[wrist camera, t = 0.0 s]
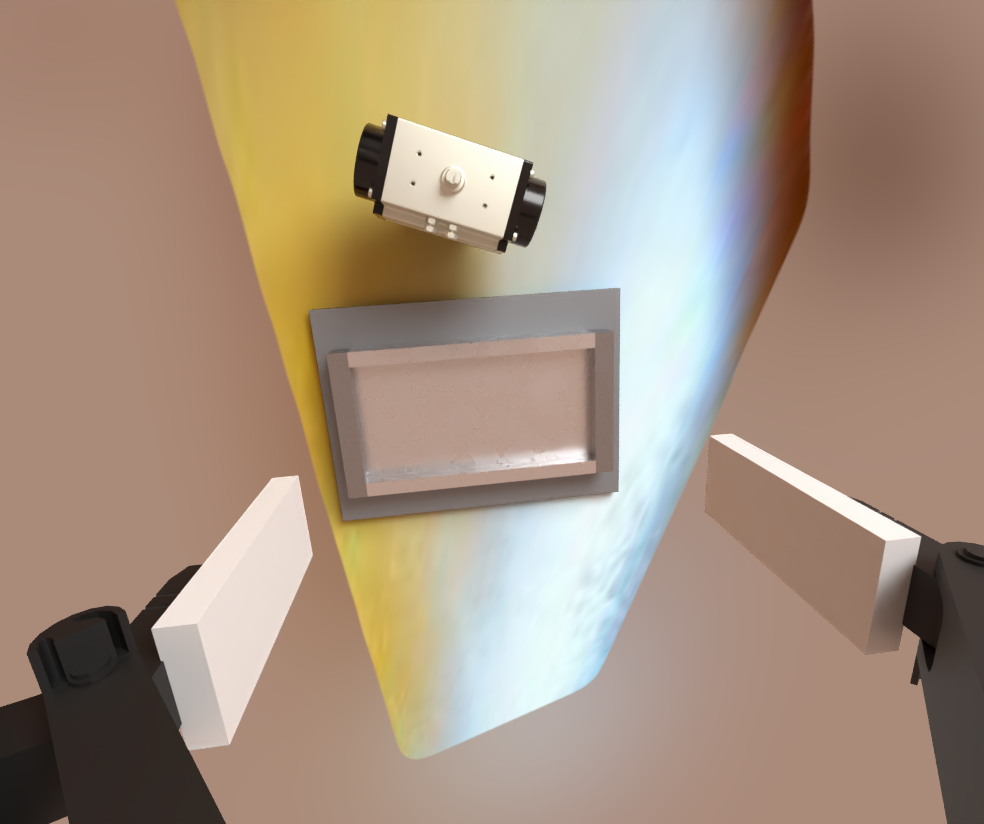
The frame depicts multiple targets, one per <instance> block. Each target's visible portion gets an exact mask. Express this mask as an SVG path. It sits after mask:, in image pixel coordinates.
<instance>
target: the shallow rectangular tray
mask: <svg viewBox="0 0 984 824" xmlns="http://www.w3.org/2000/svg"><path fill="white" fill-rule="evenodd" d="M326 357H327V363H328V369H329V376H330V382H331V389H332V395H333V401H334V408H335V414H336V420H337V427H338V433H339V439H340V446H341V452H342V459H343V465H344V471H345V478H346V484H347V490H348V497H349V499H350V498H359V497H369V496H379V495H388V494H398V493H408V492H417V491H427V490H437V489H446V488H456V487H466V486H476V485H485V484H495V483H505V482H514V481H524V480H534V479H543V478H553V477H563V476H573V475H582V474H592V473H602V472H611V471H613V441H614V332H613V331H610V330H607V329H591V330H578V331H565V332H552V333H539V334H526V335H514V336H501V337H488V338H475V339H462V340H449V341H436V342H423V343H410V344H397V345H384V346H371V347H358V348H346V349H333V350H331V351H330V352H328V353H327V354H326Z"/></svg>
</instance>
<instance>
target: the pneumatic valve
mask: <svg viewBox="0 0 984 824" xmlns="http://www.w3.org/2000/svg"><path fill="white" fill-rule="evenodd" d="M532 166H533V162H530V161H527V160H524V159H521V158H518V157H515V156H512V155H509V154H506V153H503V152H500V151H497V150H494V149H491V148H488V147H485V146H482V145H479V144H476V143H473V142H470V141H467V140H464V139H461V138H458V137H455V136H452V135H449V134H446V133H443V132H440V131H438V130H435V129H432V128H429V127H426V126H423V125H420V124H417V123H414V122H411V121H408V120H405V119H402V118H399V117H396V116H393V115H390V114H388V116H387V121H385V120H383V123H382V127H380V126H377V125H374V124H371V123H367V124H366V125H365V127H364V129H363V132H362V135H361V138H360V142H359V146H358V150H357V155H356V162H355V169H354V193H355V195H356V196H357V197H360V198H364V199H367V200H370V201H373V202H375V205H374V209H373V214H375V215H376V216H377V217H378V218H380V219H383V220H387V221H390V222H393V223H397V224H400V225H403V226H407V227H410V228H413V229H417V230H420V231H423V232H427V233H430V234H433V235H437V236H440V237H444V238H447V239H450V240H454V241H457V242H460V243H464V244H467V245H470V246H474V247H477V248H480V249H484V250H487V251H490V252H494V253H497V254H502V253H505V251H506V248H507V244H508V243H512V244H515V245H518V246H521V247H527V246H528V245H529V243H530V241H531V239H532V237H533V235H534V232H535V230H536V227H537V224H538V221H539V218H540V215H541V211H542V208H543V204H544V199H545V194H546V182H545V181H543V180H540V179H537V178H534V177H533V176H534V172H535V171H534V170H532Z"/></svg>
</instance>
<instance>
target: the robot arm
mask: <svg viewBox="0 0 984 824" xmlns="http://www.w3.org/2000/svg"><path fill="white" fill-rule="evenodd" d="M707 467H708V468H707V483H706V497H705V513H706V514H708V515H709V516H710V517H711V518H712V519H713V520H714V521H715V522H717V523H718V524H719V525H720V526H721V527H722V528H723V529H724V530H726V531H727V532H728V533H729V534H730V535H731V536H732V537H733V538H735V539H736V540H737V541H738V542H739V543H741V545H742V546H744V547H745V548H746V549H747V550H748V551H749V552H750V553H751V554H753V555H754V556H755V557H756V558H757V559H758V560H759V561H760V562H762V563H763V564H764V565H765V566H766V567H767V568H768V569H770V571H772V572H773V573H774V574H775V575H776V576H777V577H779V578H780V579H781V580H782V581H783V582H784V583H785V584H786V585H787V586H789V587H790V588H791V589H792V590H793V591H794V592H795V593H796V594H798V595H799V596H800V597H801V598H802V599H803V600H804V601H805V602H807V603H808V604H809V605H810V606H811V607H812V608H813V609H814V610H815V611H817V612H818V613H819V614H820V615H821V616H822V617H823V618H825V619H826V620H827V621H828V622H829V623H830V624H831V625H832V626H833V627H835V628H836V629H837V630H838V631H839V632H840V633H841V634H842V635H844V636H845V637H846V638H847V639H848V640H849V641H850V642H851V643H853V644H854V645H855V646H856V647H857V648H858V649H859V650H860V651H862V652H863V653H864V654H865V655H869V654H876V653H883V652H890V651H897V650H899V645H900V640H901V635H902V630H903V625H904V626H905V627H907V628H908V629H909V630H911V631H912V632H913V633H915V634H916V635H917V636H919V637H920V640H919V645H918V650H917V654H916V659H915V664H914V668H913V673H912V678H911V684H914V685H917V684H918V681H919V679H921V680H922V686H923V691H924V697H925V703H926V708H927V714H928V719H929V725H930V730H931V736H932V742H933V747H934V753H935V758H936V764H937V769H938V774H939V780H940V786H941V791H942V797H943V802H944V808H945V814H946V819H947V824H984V546H983V545H979V544H974V543H966V542H947V543H945V544H941V543H939V542H937V541H935V540H934V539H931V538H930V537H928V536H926V535H924V534H922V533H920V532H919V531H916V530H915V529H913V528H911V527H909V526H907V525H906V524H904V523H902V522H900V521H895V520H894V518H892V517H891V516H889V515H887V514H885V513H882V512H881V513H880V512H879V510H877V509H876V508H874V507H872V506H870V505H868V504H866V503H864V502H862V501H860V500H857V499H854V498H851V497H848V496H845V495H844V494H842V493H840V492H838V491H836V490H834V489H833V488H831V487H829V486H827V485H825V484H823V483H822V482H820V481H818V480H816V479H814V478H812V477H811V476H809V475H807V474H805V473H803V472H801V471H799V470H798V469H796V468H794V467H792V466H790V465H788V464H787V463H784V462H783V461H781V460H779V459H777V458H776V457H774V456H772V455H770V454H768V453H766V452H764V451H763V450H761V449H759V448H757V447H755V446H753V445H752V444H750V443H748V442H746V441H744V440H742V439H741V438H739V437H737V436H735V435H733V434H723V435H714V436H709V450H708V466H707ZM312 556H313V554H312V548H311V543H310V537H309V532H308V526H307V521H306V515H305V511H304V505H303V500H302V494H301V488H300V483H299V478H298V476H289V477H279V478H272V479H271V480H270V482H269V483H268V484H267V485H266V486H265V488H264V489H263V490H262V491H261V493H260V494H259V495H258V496H257V498H256V499H255V500H254V502H253V503H252V504H251V505H250V507H249V508H248V509H247V510H246V511H245V513H244V514H243V515H242V516H241V518H240V519H239V520H238V521H237V523H236V524H235V525H234V526H233V528H232V529H231V530H230V531H229V533H228V534H227V535H226V536H225V538H224V539H223V540H222V541H221V543H220V544H219V545H218V546H217V548H216V549H215V550H214V551H213V553H212V554H211V555H210V556H209V557H208V559H207V560H206V561H205V562H204V564H202V565H193V566H188V567H187V568H186V569H184V570H183V571H181V572H180V573H178V574H177V575H175V576H174V577H172V578H171V579H170V580H168V582H167V583H166V584H165V585H164V586H163V588H162V589H161V590H160V591H159V592H158V593H157V594H156V597H154V598H153V599H152V600H151V601H150V602H149V603H148V605H147V606H146V609H145V610H142V611H141V613H140V614H139V615H138V616H137V617H136V618H135V619H134V621H133V622H132V623H131V624H129V620H128V618H127V614H126V612H125V610H123V609H122V608H120V607H116V606H104V607H99V608H92V609H88V610H86V611H83V612H80V613H77V614H74V615H71V616H69V617H68V618H65V619H63V620H61V621H59V622H57V623H55V624H54V625H52V626H51V627H49V628H48V629H46V630H45V631H43V632H42V633H40V634H39V635H38V636H37V637H36V638H35V640H33V642H32V643H31V644H30V645H29V648H28V651H27V656H28V658H29V661H30V663H31V666H32V669H33V671H34V674H35V676H36V679H37V681H38V684H39V687H40V689H41V692H42V694H40V695H37V696H34V697H31V698H28V699H25V700H22V701H18V702H15V703H12V704H9V705H6V706H3V707H0V824H49V823H52V822H54V821H57V820H59V819H61V818H64V817H66V816H68V820H69V824H226V823H225V821H224V819H223V817H222V815H221V813H220V811H219V809H218V807H217V805H216V803H215V801H214V799H213V797H212V795H211V793H210V791H209V789H208V788H207V785H206V783H205V782H204V780H203V778H202V776H201V774H200V772H199V770H198V768H197V766H196V764H195V762H194V760H193V758H192V756H191V754H190V752H189V750H195V749H203V748H209V747H216V746H224V745H229V744H230V742H231V740H232V738H233V735H234V733H235V731H236V728H237V726H238V724H239V722H240V720H241V717H242V715H243V713H244V710H245V708H246V706H247V704H248V701H249V699H250V697H251V695H252V692H253V690H254V688H255V685H256V683H257V681H258V679H259V676H260V674H261V672H262V670H263V667H264V665H265V663H266V660H267V658H268V656H269V653H270V651H271V649H272V647H273V645H274V642H275V640H276V638H277V635H278V633H279V631H280V629H281V626H282V624H283V622H284V619H285V617H286V615H287V613H288V610H289V608H290V606H291V604H292V601H293V599H294V597H295V594H296V592H297V590H298V588H299V585H300V583H301V581H302V578H303V576H304V574H305V572H306V569H307V567H308V565H309V563H310V560H311V558H312ZM180 727H181V730H182V734H183V737H184V740H185V742H184V740H183V738H182V736H181V735H180V732H179V728H180Z"/></svg>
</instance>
